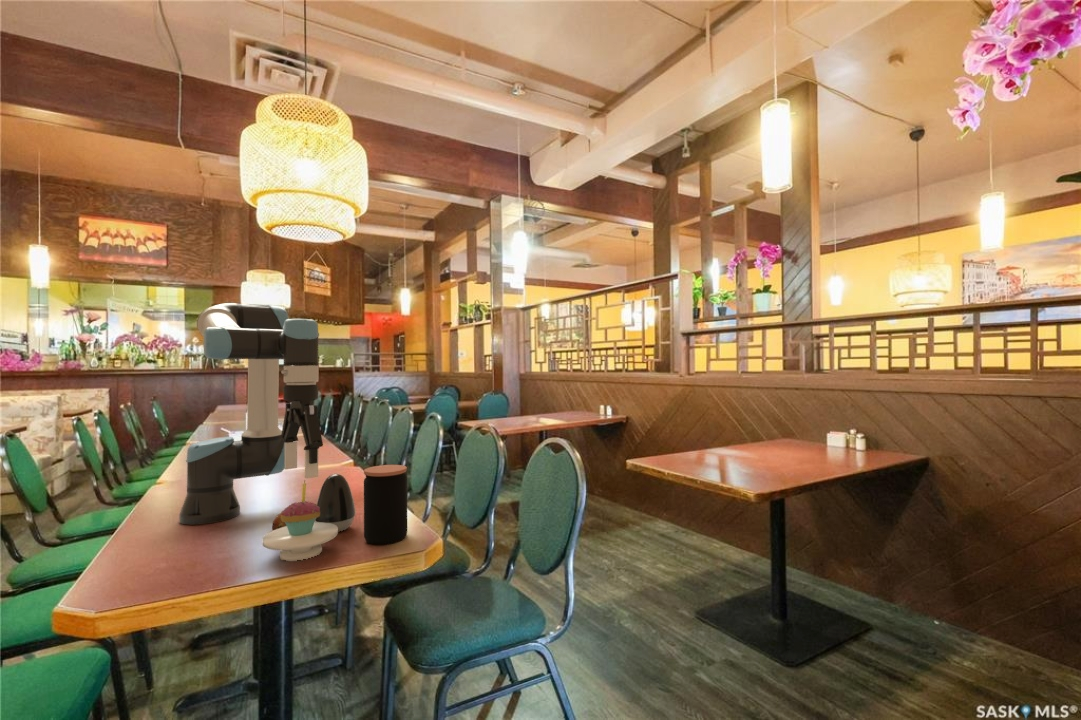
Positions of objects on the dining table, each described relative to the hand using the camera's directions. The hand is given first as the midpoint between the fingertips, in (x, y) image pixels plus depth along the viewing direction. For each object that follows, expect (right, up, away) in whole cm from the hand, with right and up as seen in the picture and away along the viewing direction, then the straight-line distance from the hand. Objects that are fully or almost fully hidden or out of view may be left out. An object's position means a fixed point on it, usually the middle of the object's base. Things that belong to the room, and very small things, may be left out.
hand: (300, 473), depth 117 cm
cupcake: (0, -14, 0) cm, 14 cm away
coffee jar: (+17, -19, +9) cm, 28 cm away
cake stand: (0, -19, -1) cm, 19 cm away
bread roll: (-11, -20, +17) cm, 28 cm away
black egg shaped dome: (+1, -20, +17) cm, 26 cm away
